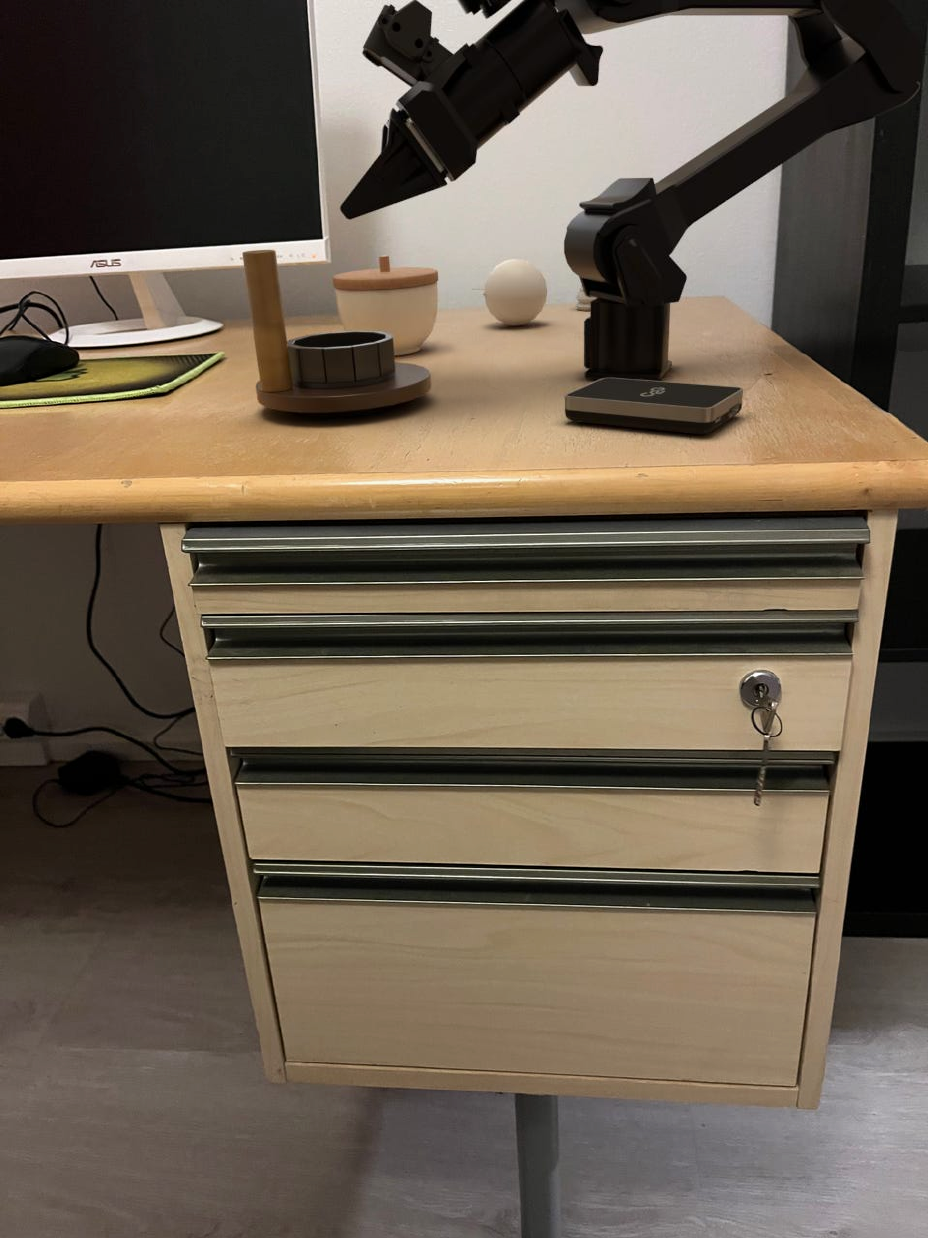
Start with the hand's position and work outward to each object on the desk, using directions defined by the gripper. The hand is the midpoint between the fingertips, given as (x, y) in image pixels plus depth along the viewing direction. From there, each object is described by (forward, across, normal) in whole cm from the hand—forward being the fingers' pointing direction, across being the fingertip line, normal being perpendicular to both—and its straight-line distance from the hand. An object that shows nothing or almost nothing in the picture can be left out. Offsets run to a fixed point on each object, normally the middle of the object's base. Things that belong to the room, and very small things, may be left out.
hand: (343, 214), depth 73 cm
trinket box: (+5, -23, +13) cm, 27 cm away
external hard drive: (-8, +14, +24) cm, 29 cm away
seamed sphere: (-7, -36, +21) cm, 42 cm away
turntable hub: (+9, +2, +11) cm, 14 cm away
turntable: (+9, +2, +10) cm, 13 cm away
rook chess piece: (-18, -44, +28) cm, 55 cm away
